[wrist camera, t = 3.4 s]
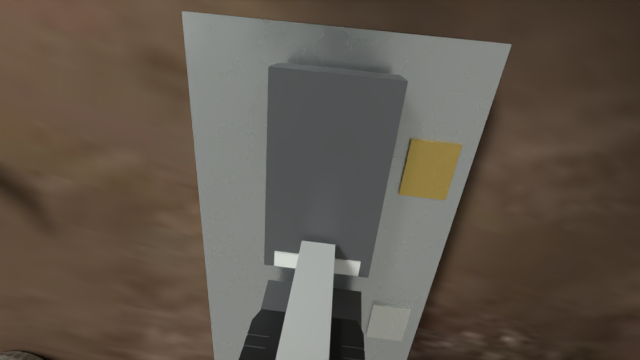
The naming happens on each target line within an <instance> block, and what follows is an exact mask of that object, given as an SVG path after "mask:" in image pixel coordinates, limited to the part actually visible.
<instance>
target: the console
mask: <svg viewBox="0 0 640 360" xmlns="http://www.w3.org/2000/svg"><path fill="white" fill-rule="evenodd" d="M182 20H183V30H184V41H185V51H186V62H187V73H188V83H189V94H190V104H191V115H192V126H193V136H194V147H195V158H196V168H197V179H198V189H199V200H200V211H201V221H202V232H203V242H204V253H205V264H206V274H207V285H208V295H209V306H210V317H211V327H212V338H213V349H214V359H215V360H239V357H240V354H241V351H242V348H243V346H244V342H245V339H246V336H247V333H248V330H249V327H250V324H251V321H252V319H253V318H254V317H255V316H256V315H257V313H258V312H259V311H260V310H261V306H262V302H263V298H264V294H265V290H266V286H267V282H268V280H275V281H283V282H290V283H293V278H294V274H295V269H294V268H286V267H278V266H270V265H264V245H265V197H266V150H267V103H268V66H271V65H273V64H276V63H279V62H281V63H291V64H300V65H310V66H319V67H329V68H338V69H348V70H357V71H367V72H377V73H386V74H396V75H400V76H402V77H403V78H404V79H406V80H407V81H408V84H407V89H406V94H405V99H404V104H403V109H402V114H401V119H400V124H399V129H398V134H397V139H396V143H395V148H394V153H393V158H392V163H391V168H390V173H389V178H388V183H387V188H386V193H385V198H384V203H383V208H382V213H381V218H380V223H379V227H378V232H377V237H376V242H375V247H374V252H373V257H372V262H371V267H370V272H369V277H368V278H365V277H357V276H349V275H341V274H334V277H333V288H337V289H345V290H353V291H361V306H362V331H363V333H364V351H365V360H407V357H408V354H409V351H410V348H411V345H412V342H413V339H414V336H415V333H416V330H417V327H418V324H419V321H420V318H421V315H422V312H423V309H424V306H425V303H426V300H427V297H428V294H429V291H430V288H431V285H432V282H433V279H434V276H435V273H436V270H437V267H438V264H439V261H440V258H441V255H442V252H443V249H444V246H445V243H446V240H447V237H448V234H449V231H450V228H451V225H452V222H453V219H454V216H455V213H456V210H457V207H458V204H459V201H460V198H461V195H462V192H463V189H464V186H465V183H466V180H467V177H468V174H469V171H470V168H471V165H472V162H473V159H474V156H475V153H476V150H477V147H478V144H479V141H480V138H481V135H482V132H483V129H484V126H485V123H486V120H487V117H488V114H489V111H490V108H491V105H492V102H493V99H494V96H495V93H496V90H497V87H498V84H499V81H500V78H501V75H502V72H503V69H504V66H505V63H506V60H507V57H508V54H509V51H510V48H511V45H512V44H504V43H495V42H487V41H478V40H469V39H459V38H449V37H439V36H429V35H419V34H409V33H399V32H389V31H379V30H370V29H360V28H350V27H340V26H330V25H320V24H310V23H300V22H290V21H280V20H270V19H260V18H250V17H240V16H230V15H220V14H208V13H197V12H185V11H182Z"/></svg>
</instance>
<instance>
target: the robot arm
mask: <svg viewBox="0 0 640 360" xmlns="http://www.w3.org/2000/svg"><path fill="white" fill-rule="evenodd" d="M334 259H335V245H334V244H326V243H317V242H309V241H302V242H301V247H300V251H299V256H298V260H297V265H296V269H295V274H294V278H293V283H292V287H291V292H290V296H289V301H288V305H287V310H286V312H281V311H274V310H266V309H261V310H260V311H259V312H258V313H257V315H256V316H255V317H254V318H253V319H252V321H251V324H250V327H249V330H248V333H247V336H246V339H245V342H244V346H243V348H242V351H241V354H240V357H239V360H365V351H364V333H363V331H362V329H361V327H360V325H359V323H358V321H357V320H349V319H341V318H334V317H331V313H332V295H333V277H334Z"/></svg>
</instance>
